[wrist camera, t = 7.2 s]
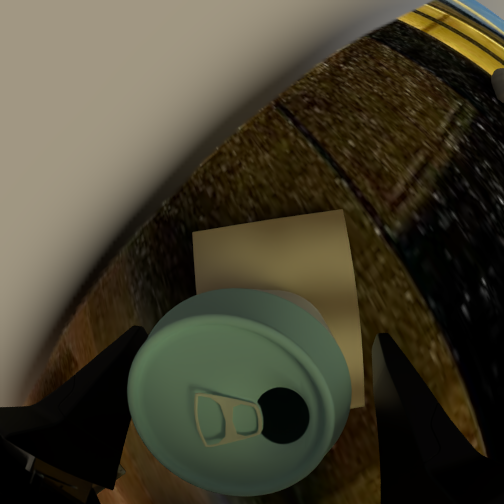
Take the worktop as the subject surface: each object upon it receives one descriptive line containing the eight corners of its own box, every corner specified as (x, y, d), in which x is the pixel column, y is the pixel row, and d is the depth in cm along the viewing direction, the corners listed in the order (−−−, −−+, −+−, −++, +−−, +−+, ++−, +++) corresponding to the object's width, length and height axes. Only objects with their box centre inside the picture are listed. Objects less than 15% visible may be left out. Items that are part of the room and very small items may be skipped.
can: (277, 268, 18) (221, 225, 7) (350, 343, 16) (413, 424, 5) (204, 337, 18) (78, 382, 7) (272, 408, 17) (222, 530, 5)
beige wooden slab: (358, 394, 18) (364, 406, 16) (221, 406, 20) (211, 417, 17) (338, 219, 21) (342, 209, 18) (204, 239, 23) (192, 232, 20)
